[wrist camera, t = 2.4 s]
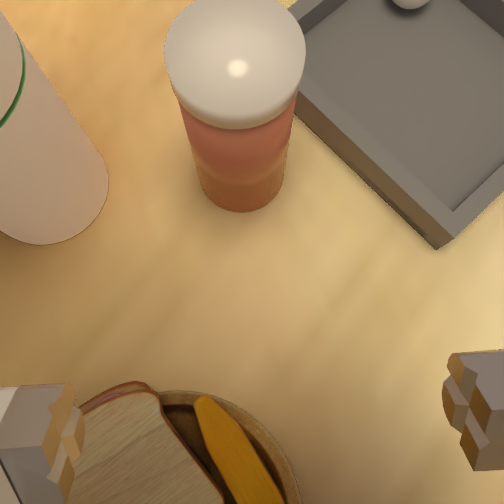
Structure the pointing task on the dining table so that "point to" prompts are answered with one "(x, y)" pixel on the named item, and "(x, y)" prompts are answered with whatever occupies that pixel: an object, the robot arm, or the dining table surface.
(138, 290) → the dining table surface
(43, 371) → the dining table surface
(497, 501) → the dining table surface
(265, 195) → the shaker
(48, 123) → the cylindrical container
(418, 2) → the mixing ball
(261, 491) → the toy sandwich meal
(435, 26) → the tray
